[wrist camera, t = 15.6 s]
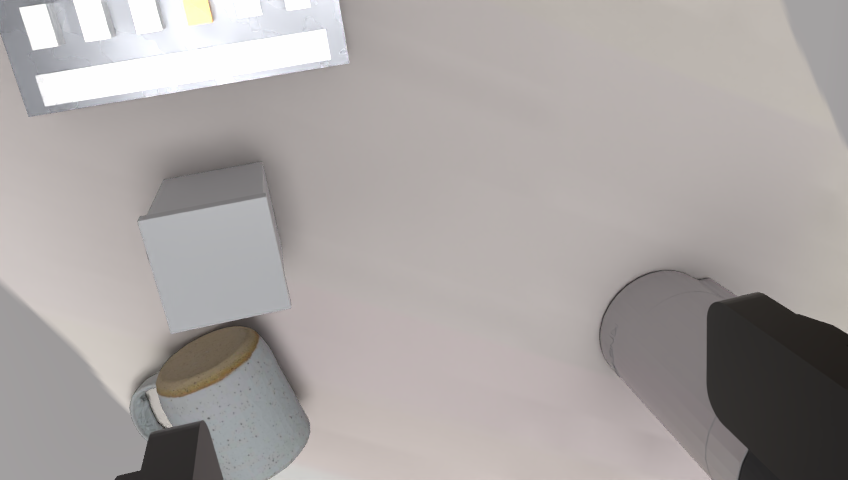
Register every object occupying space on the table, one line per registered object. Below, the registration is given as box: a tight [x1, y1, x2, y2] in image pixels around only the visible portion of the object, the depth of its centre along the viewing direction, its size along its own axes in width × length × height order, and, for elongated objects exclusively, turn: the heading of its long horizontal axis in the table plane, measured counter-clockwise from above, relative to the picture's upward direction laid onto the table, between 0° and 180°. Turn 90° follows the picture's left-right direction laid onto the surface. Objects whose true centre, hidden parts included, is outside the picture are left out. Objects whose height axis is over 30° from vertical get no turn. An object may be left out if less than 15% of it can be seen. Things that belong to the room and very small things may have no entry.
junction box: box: [138, 162, 291, 334], centre depth 42 cm, size 7×6×9 cm
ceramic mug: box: [130, 326, 310, 480], centre depth 46 cm, size 11×8×8 cm
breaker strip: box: [0, 0, 349, 117], centre depth 39 cm, size 17×7×6 cm, turn 98°
